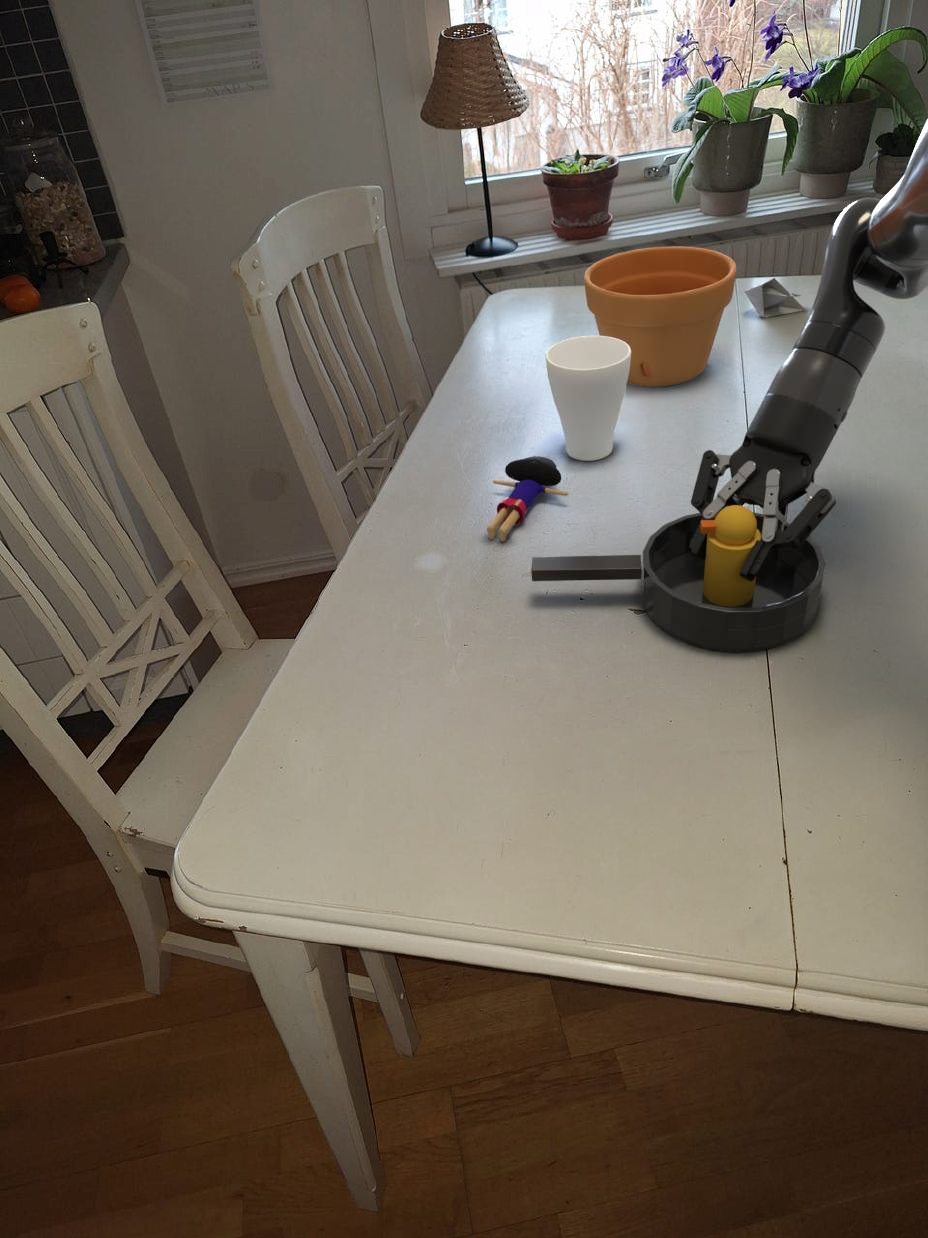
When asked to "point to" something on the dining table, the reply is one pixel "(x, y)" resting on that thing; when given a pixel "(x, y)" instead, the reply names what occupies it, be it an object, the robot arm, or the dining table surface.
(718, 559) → the yellow duck figurine
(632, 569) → the pan handle
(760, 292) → the paper boat
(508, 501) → the toy
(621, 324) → the flower pot
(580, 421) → the cup
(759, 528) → the pan
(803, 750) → the dining table surface
